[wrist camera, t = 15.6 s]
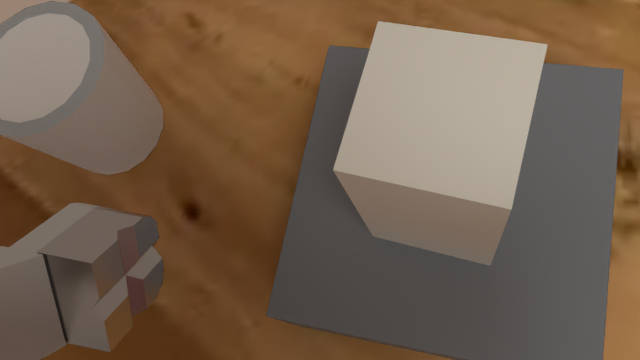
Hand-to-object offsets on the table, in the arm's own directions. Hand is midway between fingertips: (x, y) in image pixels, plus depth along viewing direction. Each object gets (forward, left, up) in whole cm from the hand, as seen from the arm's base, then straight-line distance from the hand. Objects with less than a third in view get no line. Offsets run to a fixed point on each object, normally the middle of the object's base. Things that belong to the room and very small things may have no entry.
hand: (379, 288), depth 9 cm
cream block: (0, +5, -12) cm, 13 cm away
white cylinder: (-18, +8, -17) cm, 26 cm away
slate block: (0, +6, -17) cm, 18 cm away
